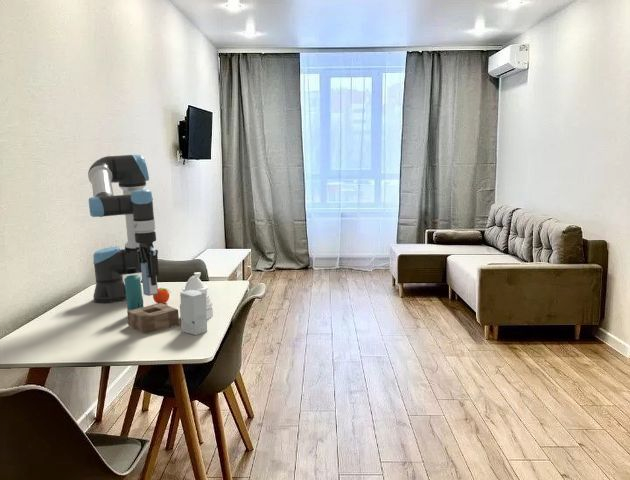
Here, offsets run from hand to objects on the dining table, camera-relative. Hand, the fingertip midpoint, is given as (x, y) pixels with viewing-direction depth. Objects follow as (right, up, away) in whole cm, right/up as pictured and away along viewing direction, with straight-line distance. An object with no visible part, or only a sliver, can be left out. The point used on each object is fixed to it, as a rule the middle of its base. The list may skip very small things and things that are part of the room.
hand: (150, 292), depth 214 cm
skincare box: (+18, -14, -7) cm, 24 cm away
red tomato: (-4, -8, +33) cm, 34 cm away
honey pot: (+15, -11, +11) cm, 22 cm away
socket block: (+1, -13, +2) cm, 13 cm away
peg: (0, -1, 0) cm, 1 cm away
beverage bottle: (-11, -11, +16) cm, 22 cm away
